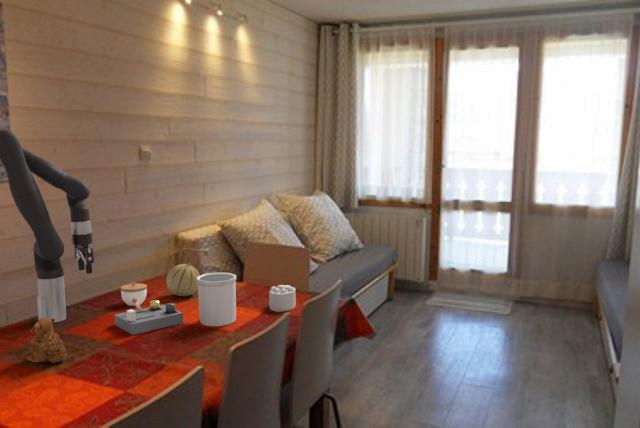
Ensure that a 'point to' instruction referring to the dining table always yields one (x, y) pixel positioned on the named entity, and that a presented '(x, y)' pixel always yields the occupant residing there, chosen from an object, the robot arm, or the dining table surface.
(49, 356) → the brown teddy bear
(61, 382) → the dining table surface
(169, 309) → the button dark gray
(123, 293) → the lidded jar
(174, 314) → the panel
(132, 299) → the toggle lever
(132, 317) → the matte white cuboid
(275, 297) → the lumpy-topped squat cylinder
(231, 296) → the utensil holder
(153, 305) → the button brass
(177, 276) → the cantaloupe
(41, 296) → the robot arm
